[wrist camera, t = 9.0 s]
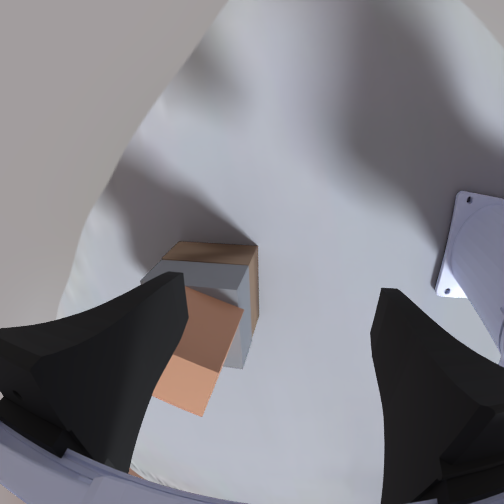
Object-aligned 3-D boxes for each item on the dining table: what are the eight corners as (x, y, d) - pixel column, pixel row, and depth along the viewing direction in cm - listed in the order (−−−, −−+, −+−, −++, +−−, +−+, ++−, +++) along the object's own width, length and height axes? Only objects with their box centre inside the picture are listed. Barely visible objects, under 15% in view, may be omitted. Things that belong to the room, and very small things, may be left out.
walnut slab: (258, 245, 22) (249, 265, 19) (258, 315, 25) (251, 339, 22) (179, 241, 23) (161, 258, 21) (188, 307, 26) (174, 329, 23)
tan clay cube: (244, 309, 17) (218, 373, 13) (226, 356, 19) (201, 417, 14) (178, 283, 17) (135, 336, 13) (168, 332, 19) (132, 386, 15)
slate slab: (248, 265, 19) (236, 289, 17) (252, 340, 22) (242, 369, 19) (161, 259, 21) (140, 280, 18) (175, 330, 23) (159, 355, 20)
